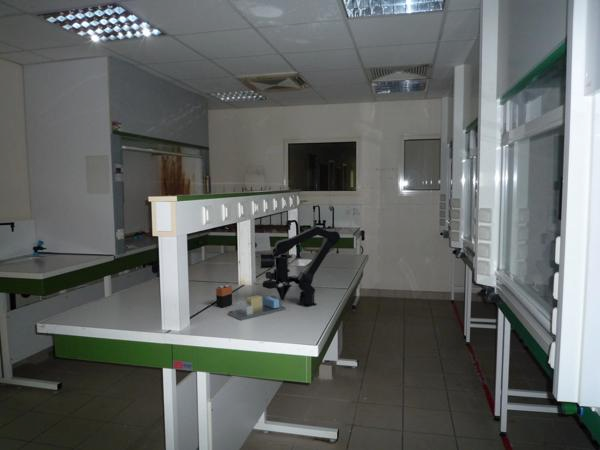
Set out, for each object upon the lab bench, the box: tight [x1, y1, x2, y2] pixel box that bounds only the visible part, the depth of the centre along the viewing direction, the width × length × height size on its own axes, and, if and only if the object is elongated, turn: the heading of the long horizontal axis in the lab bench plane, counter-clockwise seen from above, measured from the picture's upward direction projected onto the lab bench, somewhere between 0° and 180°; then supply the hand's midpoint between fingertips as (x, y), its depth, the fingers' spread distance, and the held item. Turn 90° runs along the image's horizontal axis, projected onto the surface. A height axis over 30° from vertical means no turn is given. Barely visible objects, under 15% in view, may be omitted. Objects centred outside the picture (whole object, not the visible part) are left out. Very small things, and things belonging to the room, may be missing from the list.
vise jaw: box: [262, 295, 280, 308], centre depth 194 cm, size 4×9×4 cm, turn 40°
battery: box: [215, 284, 233, 309], centre depth 200 cm, size 4×7×10 cm, turn 145°
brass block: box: [246, 294, 263, 312], centre depth 188 cm, size 6×4×6 cm, turn 131°
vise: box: [227, 301, 287, 321], centre depth 189 cm, size 24×11×5 cm, turn 130°
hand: (282, 299), depth 198 cm, fingers closed
